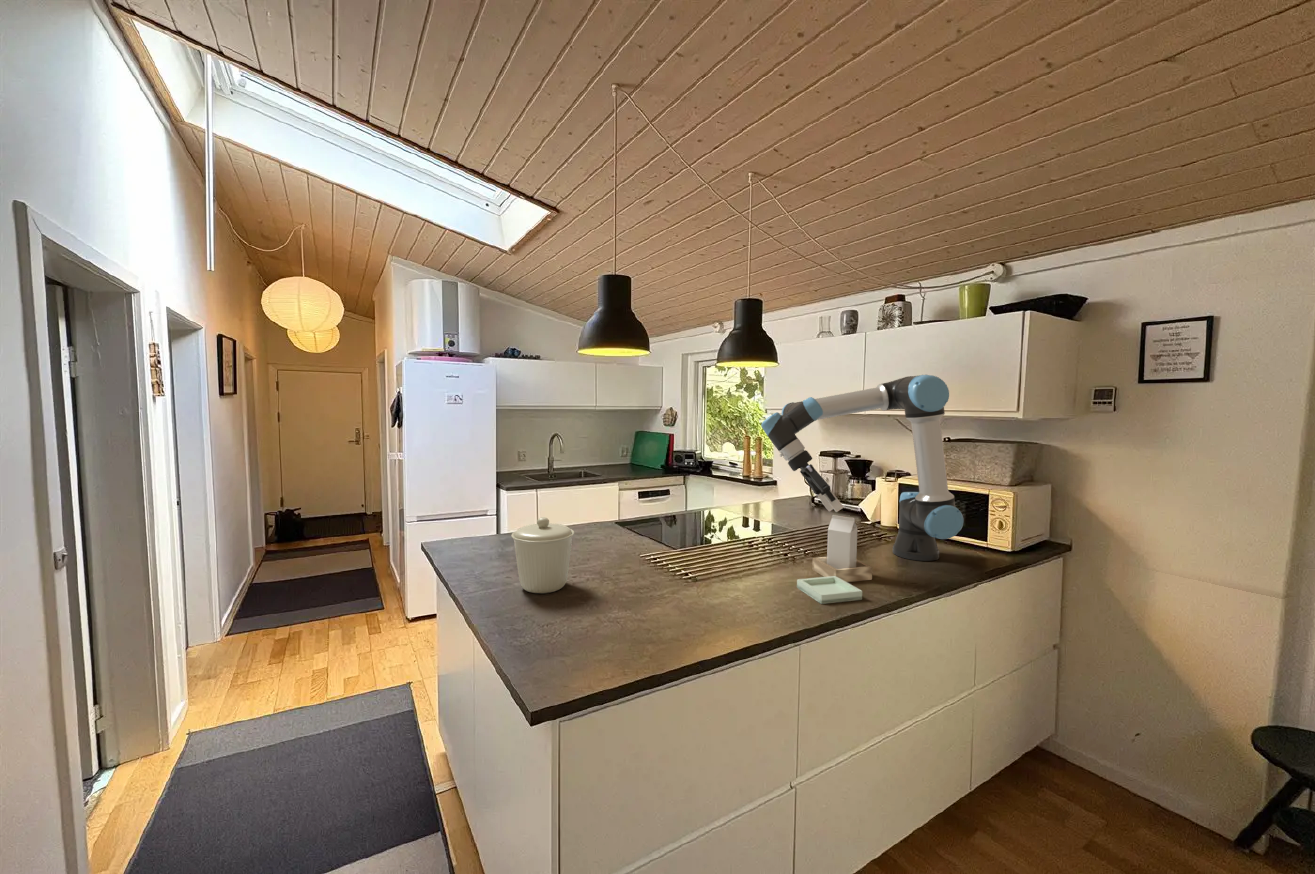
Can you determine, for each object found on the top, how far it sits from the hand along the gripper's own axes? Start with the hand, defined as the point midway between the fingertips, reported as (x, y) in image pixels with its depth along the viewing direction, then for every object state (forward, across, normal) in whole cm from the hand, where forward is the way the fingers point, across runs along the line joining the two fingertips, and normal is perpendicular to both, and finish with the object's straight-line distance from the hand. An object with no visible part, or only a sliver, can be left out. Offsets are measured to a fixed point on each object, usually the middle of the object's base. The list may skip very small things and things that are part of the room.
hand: (836, 509), depth 170 cm
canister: (-30, +24, -86) cm, 95 cm away
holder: (+18, -3, -10) cm, 21 cm away
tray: (+17, +14, -18) cm, 29 cm away
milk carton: (+18, -3, -11) cm, 21 cm away
